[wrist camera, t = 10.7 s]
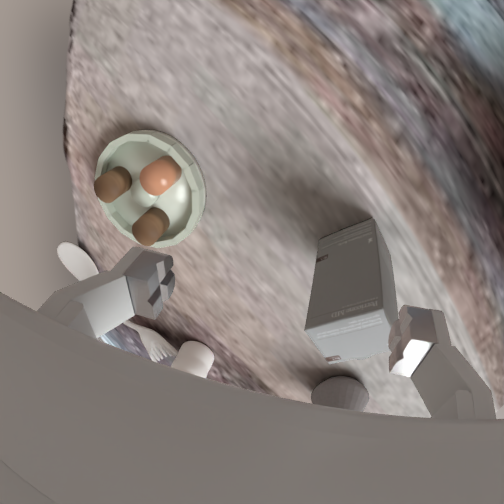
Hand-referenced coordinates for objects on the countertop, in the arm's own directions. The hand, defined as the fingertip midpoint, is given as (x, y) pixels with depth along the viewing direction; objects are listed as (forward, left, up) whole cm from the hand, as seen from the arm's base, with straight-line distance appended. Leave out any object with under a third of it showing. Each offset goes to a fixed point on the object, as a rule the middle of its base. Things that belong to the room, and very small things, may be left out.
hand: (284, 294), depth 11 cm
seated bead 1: (+10, -27, -27) cm, 40 cm away
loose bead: (+8, -19, -27) cm, 34 cm away
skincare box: (+15, +7, -29) cm, 33 cm away
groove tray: (+11, -22, -28) cm, 38 cm away
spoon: (+36, -33, -28) cm, 57 cm away
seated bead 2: (+16, -21, -27) cm, 38 cm away
